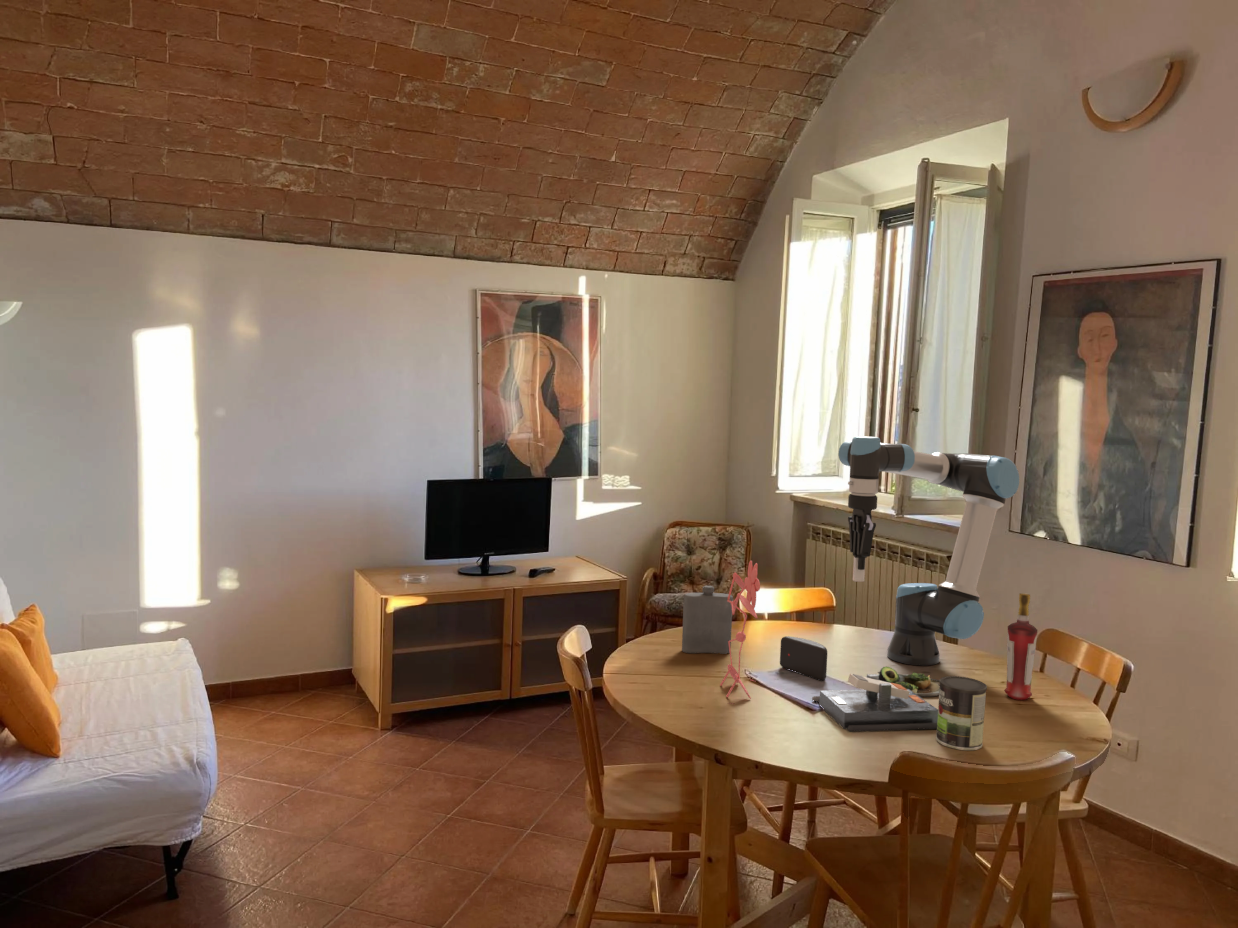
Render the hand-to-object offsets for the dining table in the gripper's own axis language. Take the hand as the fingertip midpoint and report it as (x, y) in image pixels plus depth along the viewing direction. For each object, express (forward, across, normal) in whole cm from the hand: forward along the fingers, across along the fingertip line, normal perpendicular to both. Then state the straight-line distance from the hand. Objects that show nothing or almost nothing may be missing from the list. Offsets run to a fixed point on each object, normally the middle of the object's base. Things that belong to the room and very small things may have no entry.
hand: (858, 580), depth 250 cm
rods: (+29, +21, -4) cm, 36 cm away
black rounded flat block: (+30, -12, -10) cm, 34 cm away
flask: (+30, -36, -32) cm, 57 cm away
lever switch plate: (+29, +22, -3) cm, 37 cm away
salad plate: (+30, +1, +15) cm, 34 cm away
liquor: (+30, +11, +42) cm, 53 cm away
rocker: (+22, +22, -3) cm, 31 cm away
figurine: (+30, +2, -30) cm, 42 cm away
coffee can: (+30, +40, +9) cm, 51 cm away
